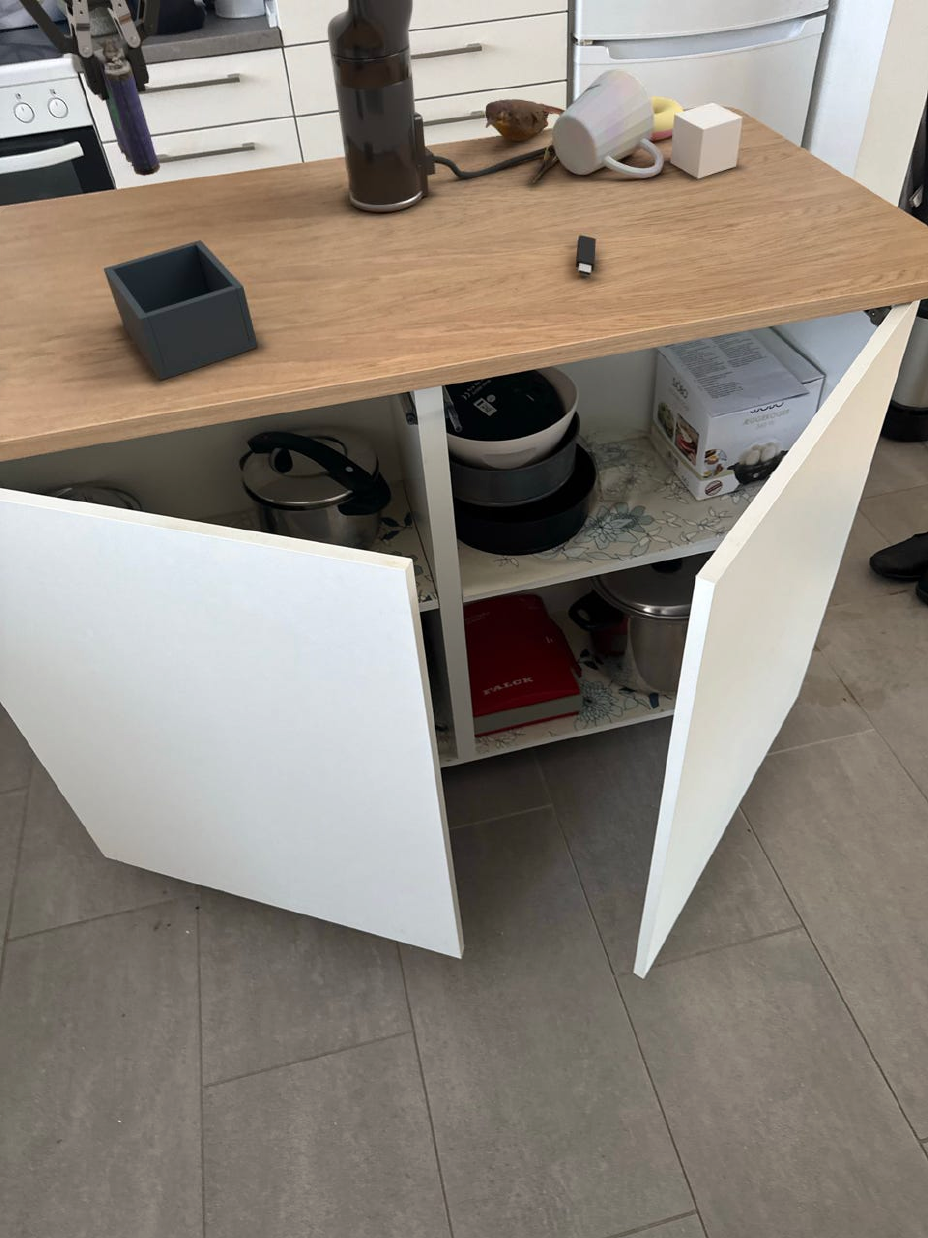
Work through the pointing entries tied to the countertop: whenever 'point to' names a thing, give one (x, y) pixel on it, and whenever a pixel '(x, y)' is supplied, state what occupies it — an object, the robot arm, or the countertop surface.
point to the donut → (664, 117)
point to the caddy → (182, 308)
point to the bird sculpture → (519, 117)
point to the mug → (607, 127)
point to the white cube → (705, 140)
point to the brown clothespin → (543, 167)
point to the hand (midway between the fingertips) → (121, 92)
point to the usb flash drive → (585, 255)
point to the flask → (126, 109)
